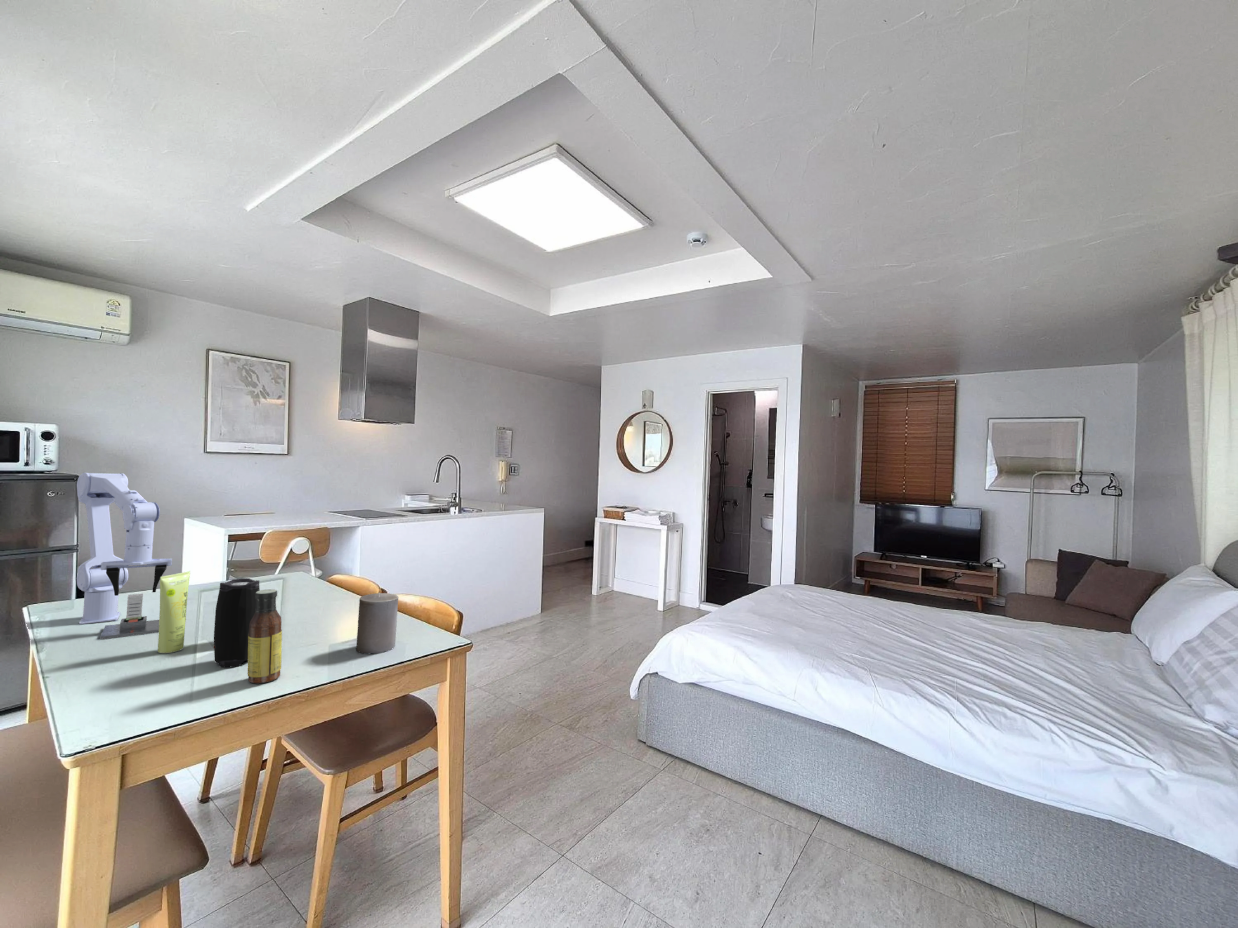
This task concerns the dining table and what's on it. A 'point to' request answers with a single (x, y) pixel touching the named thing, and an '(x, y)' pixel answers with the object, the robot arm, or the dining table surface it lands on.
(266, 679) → the sauce bottle
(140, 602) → the column
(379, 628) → the pillar candle
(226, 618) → the portable speaker
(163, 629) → the tube
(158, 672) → the dining table surface
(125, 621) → the grey slotted base
